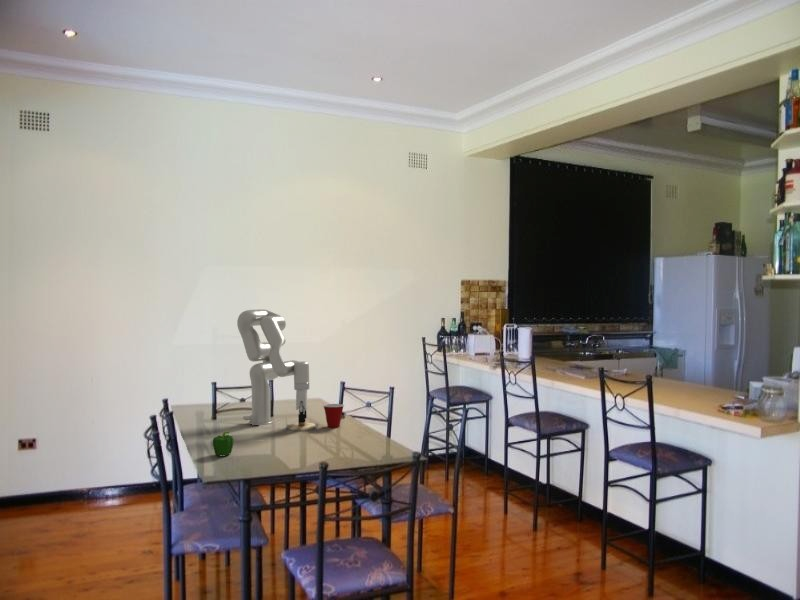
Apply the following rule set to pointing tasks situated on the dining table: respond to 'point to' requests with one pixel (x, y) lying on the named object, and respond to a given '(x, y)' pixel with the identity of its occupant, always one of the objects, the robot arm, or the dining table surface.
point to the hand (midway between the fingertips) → (302, 420)
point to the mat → (300, 431)
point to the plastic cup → (333, 414)
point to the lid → (301, 426)
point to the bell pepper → (223, 444)
